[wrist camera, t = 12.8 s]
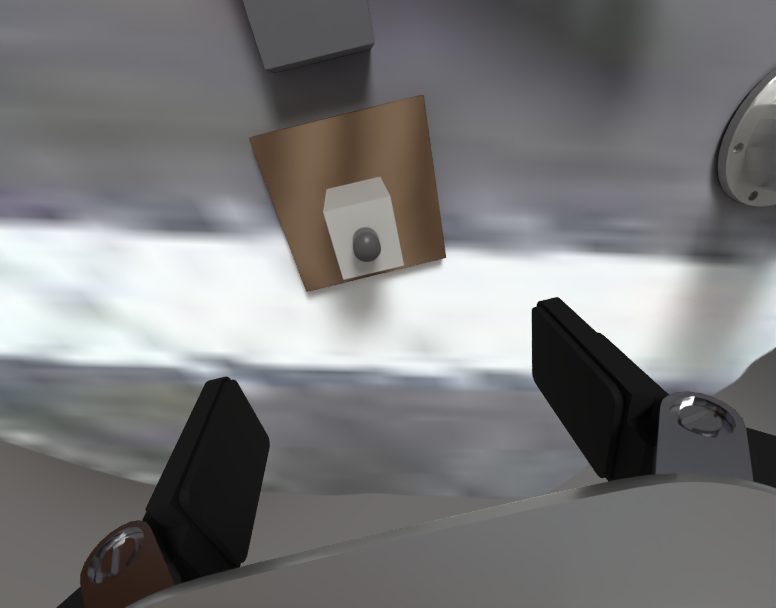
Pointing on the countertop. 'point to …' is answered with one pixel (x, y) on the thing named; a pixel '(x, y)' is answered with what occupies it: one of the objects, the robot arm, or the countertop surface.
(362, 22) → the power strip
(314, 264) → the walnut board
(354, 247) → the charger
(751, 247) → the countertop surface
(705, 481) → the robot arm
